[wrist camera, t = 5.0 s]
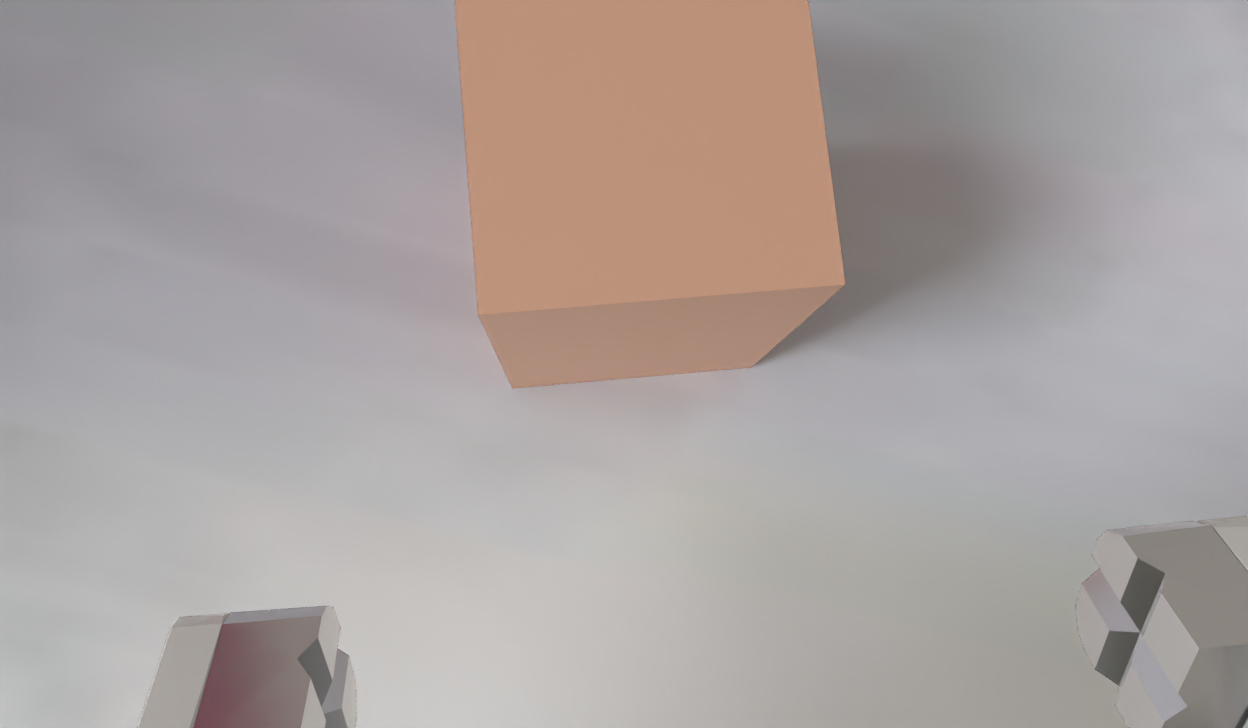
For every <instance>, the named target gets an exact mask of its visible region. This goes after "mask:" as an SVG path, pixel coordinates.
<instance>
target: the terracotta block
mask: <svg viewBox="0 0 1248 728" xmlns="http://www.w3.org/2000/svg"><path fill="white" fill-rule="evenodd" d="M455 12H456V26H457V39H458V52H459V65H460V79H461V92H462V105H463V119H464V132H465V145H466V159H467V172H468V185H469V198H470V212H471V225H472V238H473V252H474V265H475V278H476V291H477V305H478V315H479V318H480V320H481V322H482V324H483V326H484V328H485V331H486V333H487V335H488V337H489V339H490V341H491V343H492V346H493V348H494V350H495V352H496V354H497V356H498V359H499V361H500V363H501V365H502V367H503V369H504V371H505V374H506V376H507V378H508V380H509V382H510V384H511V387H512V388H523V387H534V386H546V385H557V384H568V383H580V382H591V381H602V380H614V379H625V378H636V377H648V376H659V375H670V374H682V373H693V372H704V371H716V370H727V369H738V368H750V367H753V366H754V365H755V364H756V363H757V362H758V361H759V360H761V359H762V358H763V357H764V356H765V355H766V354H767V353H768V352H770V351H771V350H772V349H773V348H774V347H775V346H776V345H777V344H779V343H780V342H781V341H782V340H783V339H784V338H785V337H787V336H788V335H789V334H790V333H791V332H792V331H793V330H794V329H796V328H797V327H798V326H799V325H800V324H801V323H802V322H804V321H805V320H806V319H807V318H808V317H809V316H810V315H811V314H813V313H814V312H815V311H816V310H817V309H818V308H819V307H821V306H822V305H823V304H824V303H825V302H826V301H827V300H828V299H830V298H831V297H832V296H833V295H834V294H835V293H836V292H837V291H839V290H840V289H841V288H842V287H843V286H844V285H845V276H844V269H843V261H842V253H841V246H840V238H839V231H838V223H837V215H836V208H835V200H834V192H833V185H832V177H831V170H830V162H829V154H828V147H827V139H826V131H825V124H824V116H823V109H822V101H821V93H820V86H819V78H818V70H817V63H816V55H815V48H814V40H813V32H812V25H811V17H810V9H809V2H808V0H455Z"/></svg>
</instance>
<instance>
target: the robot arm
mask: <svg viewBox="0 0 1248 728" xmlns="http://www.w3.org/2000/svg"><path fill="white" fill-rule="evenodd" d="M1092 557H1093V558H1094V560H1095V562H1096V563H1097V565H1098V567H1099V568H1100V569H1098V570H1097V571H1096V572H1095V573H1094V574H1092V575H1091V576H1090V577H1089V578H1088V579H1087V580H1085V581H1084V582H1083V583H1082V584H1081V587H1080V591H1079V595H1078V598H1077V602H1076V605H1075V606H1076V618H1077V630H1078V633H1079V636H1080V639H1081V642H1082V645H1083V648H1084V650H1085V652H1086V654H1087V656H1088V657H1089V659H1090V661H1091V663H1092V665H1093V667H1094V669H1095V670H1097V671H1098V672H1100V673H1101V674H1103V675H1104V676H1106V677H1107V678H1109V679H1110V680H1111V681H1113V682H1114V683H1116V684H1117V685H1119V688H1118V693H1117V698H1116V703H1115V706H1116V708H1117V709H1118V711H1119V713H1120V715H1121V716H1122V718H1123V720H1124V722H1125V723H1126V725H1127V727H1128V728H1248V517H1247V516H1242V517H1232V518H1222V519H1212V520H1201V521H1197V522H1194V521H1186V522H1177V523H1167V524H1158V525H1149V526H1140V527H1130V528H1121V529H1112V530H1106V531H1105V532H1104V533H1103V534H1102V535H1101V536H1100V537H1099V538H1098V539H1097V541H1096V544H1095V547H1094V549H1093V552H1092ZM339 635H340V625H339V622H338V619H337V616H336V613H335V611H334V608H333V607H331V606H317V607H302V608H288V609H274V610H260V611H245V612H231V613H225V614H212V615H199V616H186V617H180V618H179V619H178V620H177V622H176V623H175V624H174V626H173V627H172V628H171V630H170V631H169V633H168V636H167V639H166V642H165V645H164V648H163V651H162V654H161V657H160V660H159V663H158V666H157V669H156V672H155V675H154V678H153V681H152V684H151V687H150V690H149V693H148V696H147V699H146V702H145V705H144V708H143V711H142V714H141V717H140V720H139V723H138V726H137V728H356V685H355V678H354V671H353V668H352V664H351V661H350V657H349V655H347V654H346V653H344V652H343V651H341V650H340V649H338V641H339Z"/></svg>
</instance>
